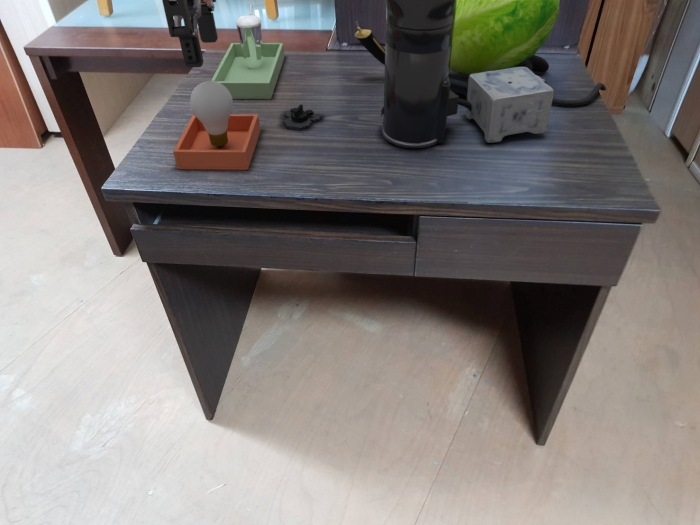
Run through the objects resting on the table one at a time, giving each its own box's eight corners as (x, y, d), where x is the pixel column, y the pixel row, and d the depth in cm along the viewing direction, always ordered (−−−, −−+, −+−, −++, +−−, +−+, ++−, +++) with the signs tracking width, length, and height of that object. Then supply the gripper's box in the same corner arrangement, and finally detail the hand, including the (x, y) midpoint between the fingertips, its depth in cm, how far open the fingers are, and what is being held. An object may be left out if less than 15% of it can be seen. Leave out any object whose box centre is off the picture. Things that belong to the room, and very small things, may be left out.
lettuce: (450, 117, 95) (446, 70, 106) (584, 52, 85) (564, 6, 95) (409, 51, 87) (408, 6, 97) (551, -32, 76) (534, -73, 86)
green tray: (284, 57, 109) (283, 42, 107) (271, 99, 95) (269, 82, 93) (233, 57, 109) (231, 42, 107) (212, 98, 95) (209, 82, 94)
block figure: (274, 112, 86) (288, 97, 90) (276, 126, 88) (289, 111, 92) (310, 117, 85) (322, 102, 89) (311, 131, 86) (323, 115, 90)
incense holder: (517, 115, 91) (458, 116, 89) (531, 65, 86) (470, 64, 84) (545, 142, 84) (482, 144, 82) (562, 90, 79) (496, 90, 77)
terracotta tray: (260, 131, 87) (258, 114, 85) (248, 169, 78) (245, 152, 76) (196, 130, 87) (193, 113, 85) (177, 169, 79) (173, 151, 77)
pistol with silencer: (488, 47, 83) (495, 93, 92) (357, 17, 95) (375, 60, 104) (475, 68, 82) (483, 113, 92) (344, 36, 94) (363, 78, 103)
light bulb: (196, 141, 84) (181, 78, 77) (234, 133, 85) (223, 70, 79) (205, 160, 80) (191, 95, 73) (244, 151, 81) (234, 86, 75)
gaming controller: (529, 80, 104) (507, 52, 101) (551, 65, 101) (528, 35, 99) (528, 105, 96) (503, 75, 94) (551, 89, 93) (526, 58, 91)
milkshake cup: (269, 59, 107) (263, 5, 100) (263, 70, 103) (256, 15, 96) (246, 59, 107) (238, 5, 101) (239, 70, 103) (231, 14, 97)
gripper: (189, -79, 56) (219, 75, 67) (218, -103, 67) (240, 33, 78) (118, -76, 57) (159, 76, 68) (158, -101, 67) (188, 34, 78)
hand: (202, 53), depth 73 cm, fingers open, 8 cm apart
